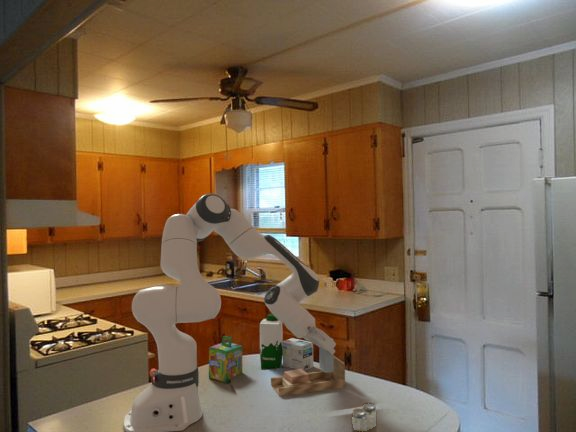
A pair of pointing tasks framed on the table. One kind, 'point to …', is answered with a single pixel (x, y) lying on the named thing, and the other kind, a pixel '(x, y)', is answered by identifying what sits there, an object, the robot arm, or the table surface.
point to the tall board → (326, 360)
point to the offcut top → (296, 376)
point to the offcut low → (286, 384)
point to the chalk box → (225, 360)
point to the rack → (314, 381)
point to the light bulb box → (297, 354)
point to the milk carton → (271, 342)
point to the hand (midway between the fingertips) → (327, 349)
